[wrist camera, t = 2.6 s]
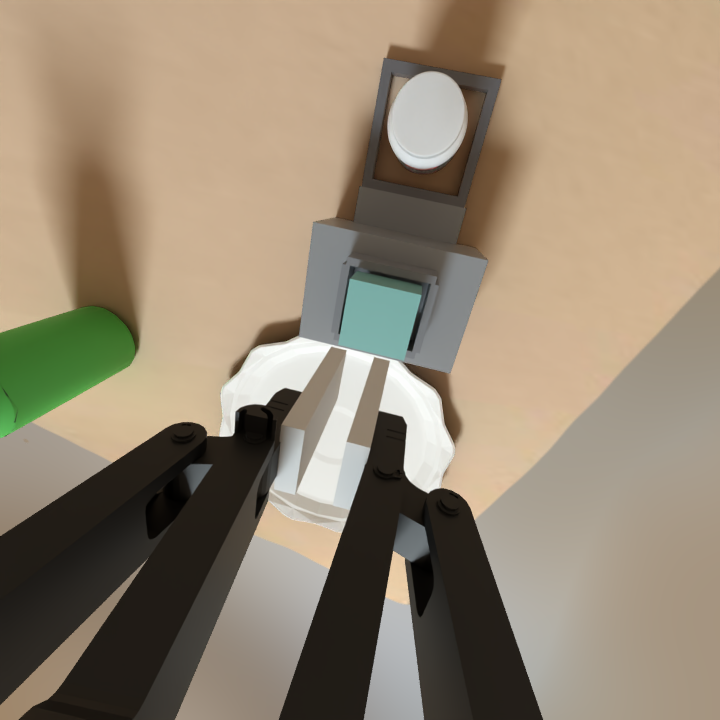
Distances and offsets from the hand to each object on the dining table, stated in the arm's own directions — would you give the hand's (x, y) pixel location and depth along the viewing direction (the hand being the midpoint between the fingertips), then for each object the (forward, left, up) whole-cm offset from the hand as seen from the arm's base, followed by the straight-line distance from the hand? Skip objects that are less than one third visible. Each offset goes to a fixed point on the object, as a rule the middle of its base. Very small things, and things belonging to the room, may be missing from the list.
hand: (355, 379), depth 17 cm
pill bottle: (-13, 0, -23) cm, 26 cm away
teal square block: (0, 0, -12) cm, 12 cm away
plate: (+21, -3, -23) cm, 31 cm away
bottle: (+15, -34, -23) cm, 44 cm away
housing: (-6, 0, -22) cm, 23 cm away
